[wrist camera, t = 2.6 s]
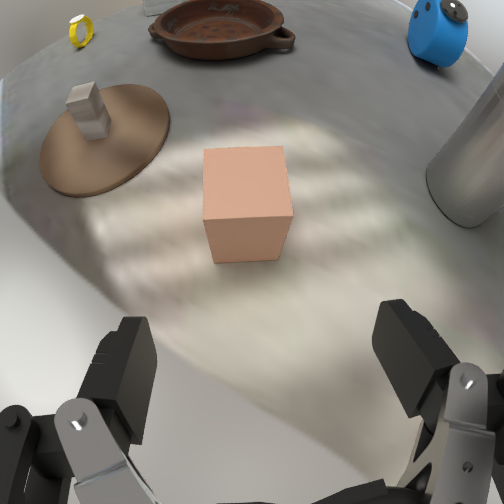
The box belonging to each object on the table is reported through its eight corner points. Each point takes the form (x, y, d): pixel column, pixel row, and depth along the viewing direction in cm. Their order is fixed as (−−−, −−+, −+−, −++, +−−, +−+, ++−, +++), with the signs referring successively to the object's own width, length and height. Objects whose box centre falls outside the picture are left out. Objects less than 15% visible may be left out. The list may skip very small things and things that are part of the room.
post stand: (114, 78, 33) (101, 38, 27) (199, 117, 30) (193, 67, 24) (25, 159, 29) (-3, 124, 22) (90, 225, 26) (54, 187, 19)
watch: (85, 51, 37) (74, 26, 31) (72, 53, 37) (61, 30, 31) (99, 32, 39) (90, 8, 33) (87, 34, 39) (78, 12, 33)
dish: (173, 16, 40) (170, -6, 36) (299, 26, 40) (302, 2, 35) (127, 69, 34) (119, 42, 30) (286, 81, 34) (291, 50, 29)
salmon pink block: (213, 206, 27) (204, 149, 19) (272, 203, 27) (283, 146, 19) (214, 263, 25) (202, 219, 17) (277, 259, 25) (293, 215, 18)
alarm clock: (446, 82, 37) (482, 18, 23) (415, 69, 37) (448, -1, 23) (428, 46, 41) (453, -10, 27) (401, 35, 42) (423, -24, 27)
